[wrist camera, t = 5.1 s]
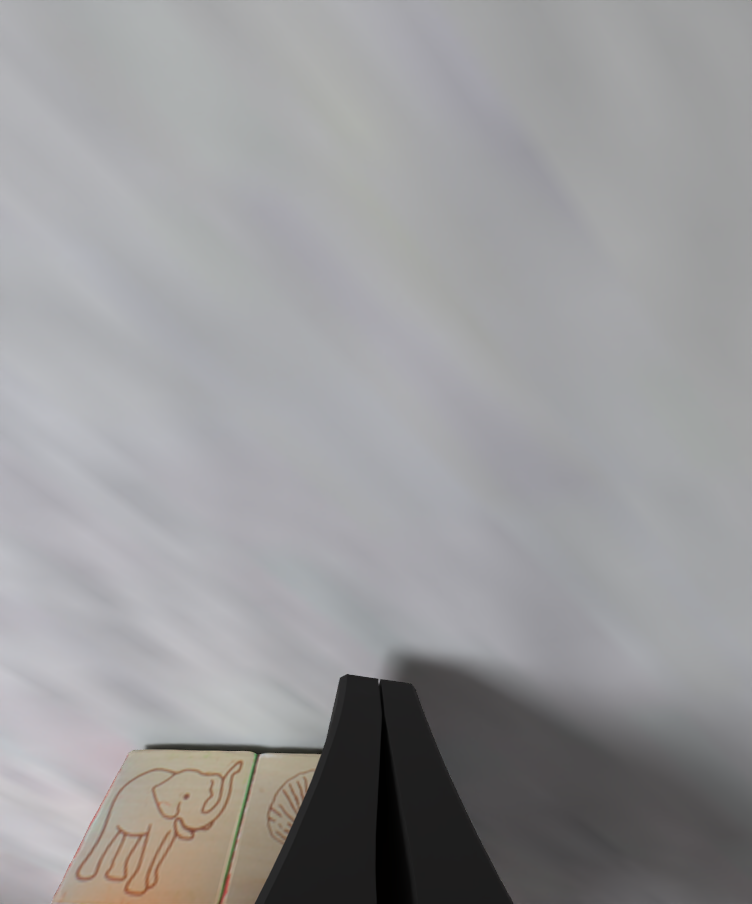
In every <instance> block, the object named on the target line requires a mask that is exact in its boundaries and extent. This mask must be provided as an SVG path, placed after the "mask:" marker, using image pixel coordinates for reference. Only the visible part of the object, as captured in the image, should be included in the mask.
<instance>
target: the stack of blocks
mask: <svg viewBox="0 0 752 904" xmlns="http://www.w3.org/2000/svg"><path fill="white" fill-rule="evenodd" d="M320 756H321V754H287V753H264V754H256V753H253V752H250V751H197V750H133V751H131V752H129V753H128V755H127V757H126V759H125V761H124V763H123V765H122V767H121V769H120V771H119V772H118V774H117V776H116V777H115V779H114V781H113V783H112V785H111V787H110V789H109V791H108V792H107V794H106V796H105V798H104V800H103V802H102V804H101V805H100V807H99V809H98V811H97V813H96V814H95V816H94V818H93V820H92V821H91V823H90V825H89V827H88V830H87V832H86V834H85V836H84V838H83V840H82V842H81V844H80V846H79V848H78V850H77V852H76V854H75V856H74V858H73V860H72V861H71V863H70V865H69V867H68V869H67V871H66V874H65V876H64V878H63V880H62V882H61V884H60V886H59V888H58V890H57V891H56V893H55V895H54V897H53V900H52V903H51V904H255V902H256V900H257V898H258V896H259V894H260V892H261V890H262V888H263V886H264V884H265V882H266V880H267V878H268V876H269V874H270V872H271V870H272V868H273V865H274V863H275V861H276V859H277V857H278V855H279V853H280V851H281V849H282V847H283V844H284V842H285V840H286V838H287V836H288V833H289V831H290V829H291V827H292V824H293V822H294V820H295V817H296V815H297V813H298V811H299V808H300V806H301V804H302V801H303V799H304V797H305V795H306V792H307V790H308V788H309V785H310V783H311V780H312V777H313V775H314V772H315V769H316V767H317V764H318V761H319V759H320Z"/></svg>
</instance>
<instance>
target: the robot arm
mask: <svg viewBox="0 0 752 904" xmlns="http://www.w3.org/2000/svg"><path fill="white" fill-rule="evenodd" d="M255 904H513V902H512V900H511V898H510V896H509V895H508V893H507V891H506V889H505V887H504V885H503V883H502V882H501V880H500V878H499V876H498V874H497V872H496V870H495V868H494V866H493V864H492V862H491V861H490V859H489V857H488V855H487V853H486V851H485V849H484V847H483V845H482V843H481V841H480V839H479V837H478V835H477V833H476V831H475V829H474V827H473V825H472V823H471V821H470V819H469V817H468V815H467V812H466V810H465V808H464V806H463V804H462V802H461V799H460V797H459V795H458V793H457V791H456V789H455V786H454V784H453V782H452V780H451V778H450V775H449V773H448V771H447V769H446V766H445V764H444V762H443V759H442V757H441V755H440V752H439V750H438V747H437V745H436V742H435V740H434V738H433V735H432V733H431V730H430V728H429V725H428V722H427V720H426V717H425V715H424V712H423V709H422V706H421V704H420V701H419V698H418V695H417V692H416V689H415V688H414V687H413V685H412V684H409V683H402V682H396V681H389V680H382V679H381V680H380V684H378V679H376V678H369V677H362V676H356V675H349V674H346V675H345V676H343V677H341V678H340V680H339V685H338V689H337V694H336V698H335V703H334V707H333V712H332V716H331V721H330V725H329V730H328V734H327V739H326V742H325V745H324V748H323V750H322V753H321V756H320V759H319V761H318V764H317V767H316V769H315V772H314V775H313V777H312V780H311V783H310V785H309V788H308V790H307V792H306V795H305V797H304V799H303V801H302V804H301V806H300V808H299V811H298V813H297V815H296V817H295V820H294V822H293V824H292V827H291V829H290V831H289V833H288V836H287V838H286V840H285V842H284V844H283V847H282V849H281V851H280V853H279V855H278V857H277V859H276V861H275V863H274V865H273V868H272V870H271V872H270V874H269V876H268V878H267V880H266V882H265V884H264V886H263V888H262V890H261V892H260V894H259V896H258V898H257V900H256V902H255Z"/></svg>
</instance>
